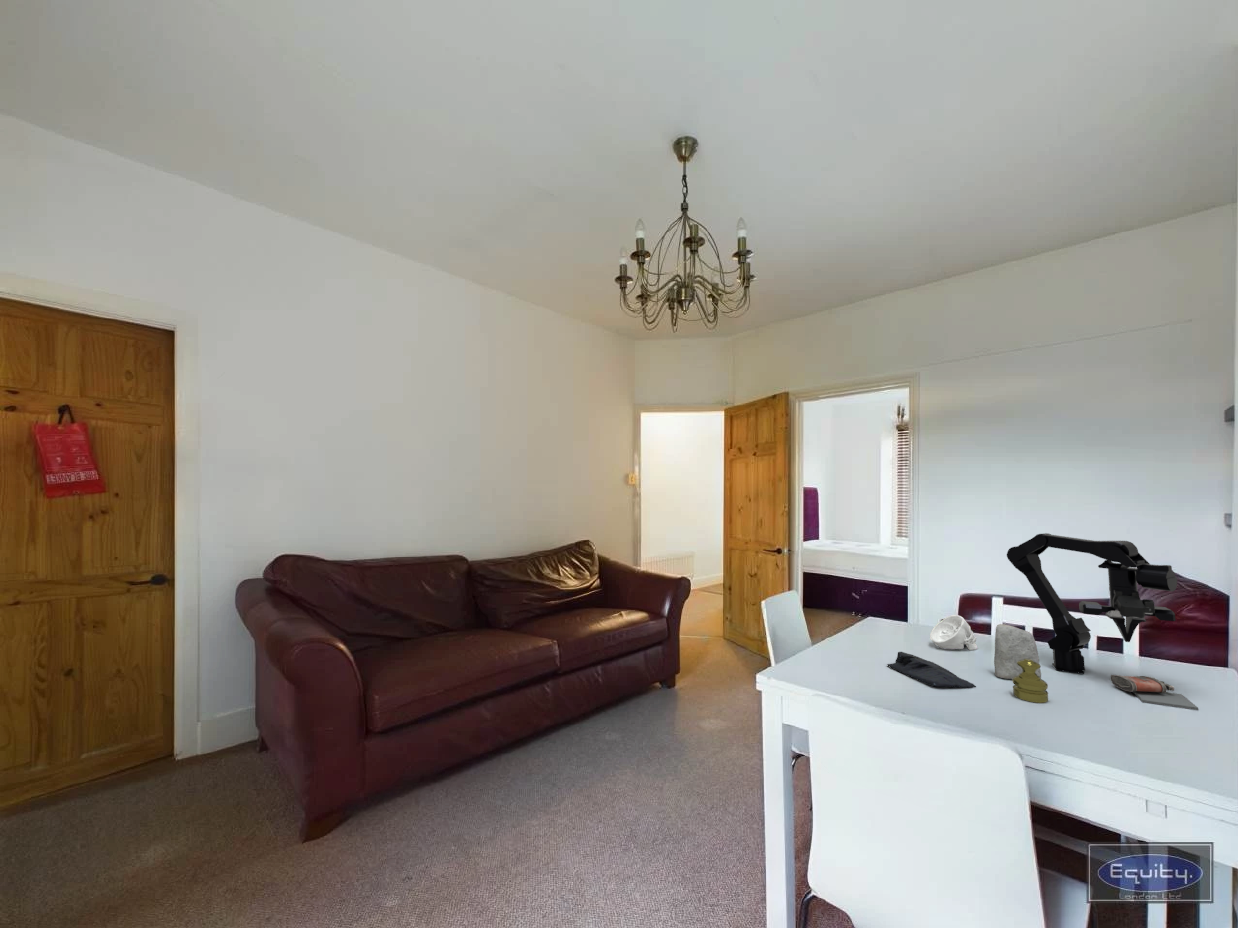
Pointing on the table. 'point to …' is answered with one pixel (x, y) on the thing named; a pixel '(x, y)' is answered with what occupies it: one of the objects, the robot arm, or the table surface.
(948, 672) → the dark slate chunk
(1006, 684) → the table surface
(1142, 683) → the lighter
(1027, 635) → the decorative stone
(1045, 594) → the robot arm
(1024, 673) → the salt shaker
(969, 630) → the skull bowl
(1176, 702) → the mat
